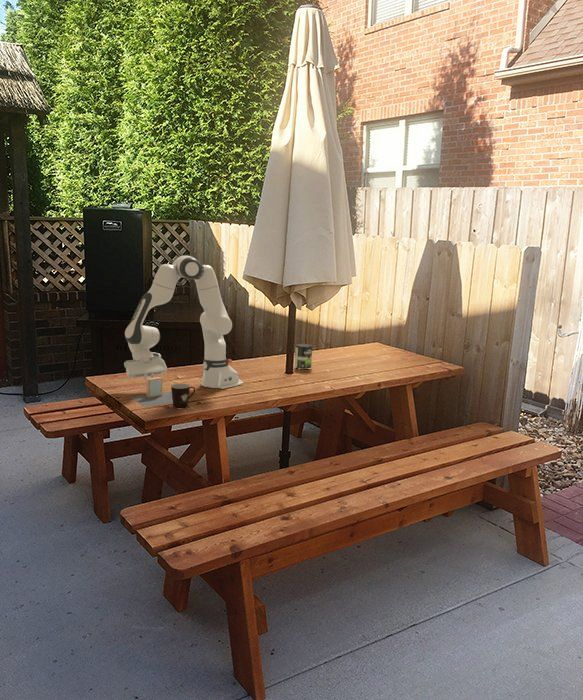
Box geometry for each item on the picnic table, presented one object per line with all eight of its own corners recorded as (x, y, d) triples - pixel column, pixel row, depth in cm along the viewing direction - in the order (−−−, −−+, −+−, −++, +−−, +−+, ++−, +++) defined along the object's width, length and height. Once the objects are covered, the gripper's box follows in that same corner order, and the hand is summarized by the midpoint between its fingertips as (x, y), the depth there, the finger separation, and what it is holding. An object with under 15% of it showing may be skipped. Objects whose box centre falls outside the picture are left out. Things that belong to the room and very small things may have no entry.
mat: (171, 391, 321) (171, 391, 321) (188, 400, 307) (188, 400, 307) (129, 397, 308) (129, 397, 308) (145, 407, 294) (145, 406, 294)
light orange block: (160, 394, 314) (160, 376, 312) (162, 396, 312) (162, 378, 310) (146, 396, 310) (146, 378, 308) (149, 397, 308) (148, 379, 306)
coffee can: (314, 368, 383) (316, 345, 380) (302, 370, 376) (303, 347, 374) (303, 365, 391) (304, 342, 388) (290, 367, 384) (291, 344, 381)
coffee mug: (171, 409, 292) (172, 388, 290) (170, 404, 300) (170, 383, 298) (197, 408, 295) (197, 387, 293) (194, 403, 303) (194, 383, 301)
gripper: (124, 357, 310) (132, 381, 305) (163, 353, 322) (171, 376, 317) (121, 364, 315) (129, 388, 309) (159, 360, 327) (167, 383, 321)
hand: (151, 382), depth 313 cm, fingers closed
